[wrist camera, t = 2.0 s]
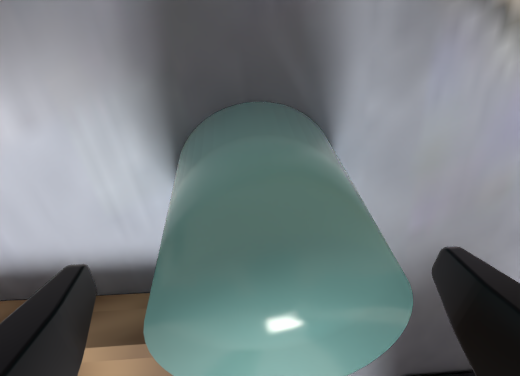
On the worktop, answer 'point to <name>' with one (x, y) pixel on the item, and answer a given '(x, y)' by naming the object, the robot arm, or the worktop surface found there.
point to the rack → (112, 337)
